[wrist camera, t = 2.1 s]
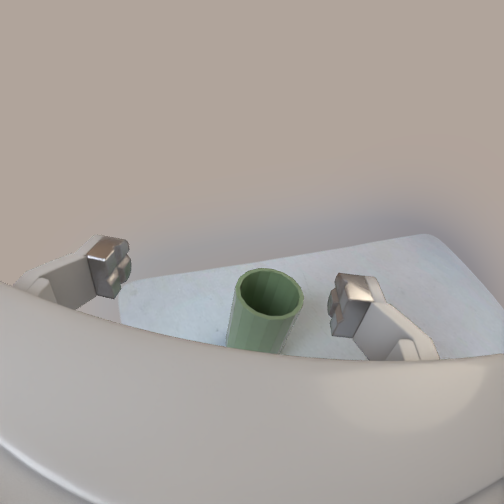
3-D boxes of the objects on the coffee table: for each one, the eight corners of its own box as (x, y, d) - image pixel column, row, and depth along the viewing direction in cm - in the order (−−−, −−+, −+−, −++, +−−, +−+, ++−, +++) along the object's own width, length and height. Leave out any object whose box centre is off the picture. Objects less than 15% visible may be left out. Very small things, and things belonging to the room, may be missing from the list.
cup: (217, 358, 27) (226, 305, 22) (234, 317, 32) (246, 260, 26) (272, 376, 27) (298, 328, 21) (283, 333, 31) (307, 279, 26)
